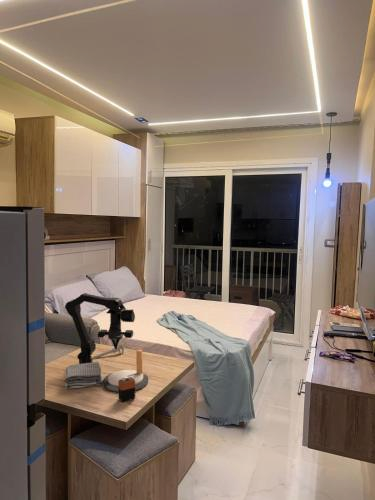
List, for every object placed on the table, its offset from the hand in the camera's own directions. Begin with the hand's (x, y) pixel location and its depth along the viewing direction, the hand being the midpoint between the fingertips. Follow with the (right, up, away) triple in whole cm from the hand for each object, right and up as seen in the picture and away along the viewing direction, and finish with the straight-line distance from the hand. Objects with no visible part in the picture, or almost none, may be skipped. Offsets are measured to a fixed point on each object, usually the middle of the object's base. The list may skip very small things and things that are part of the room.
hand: (115, 348), depth 200 cm
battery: (+11, -15, -31) cm, 37 cm away
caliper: (-9, -11, +21) cm, 26 cm away
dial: (+8, -12, -14) cm, 20 cm away
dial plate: (+8, -13, -14) cm, 21 cm away
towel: (-14, -14, -14) cm, 24 cm away
